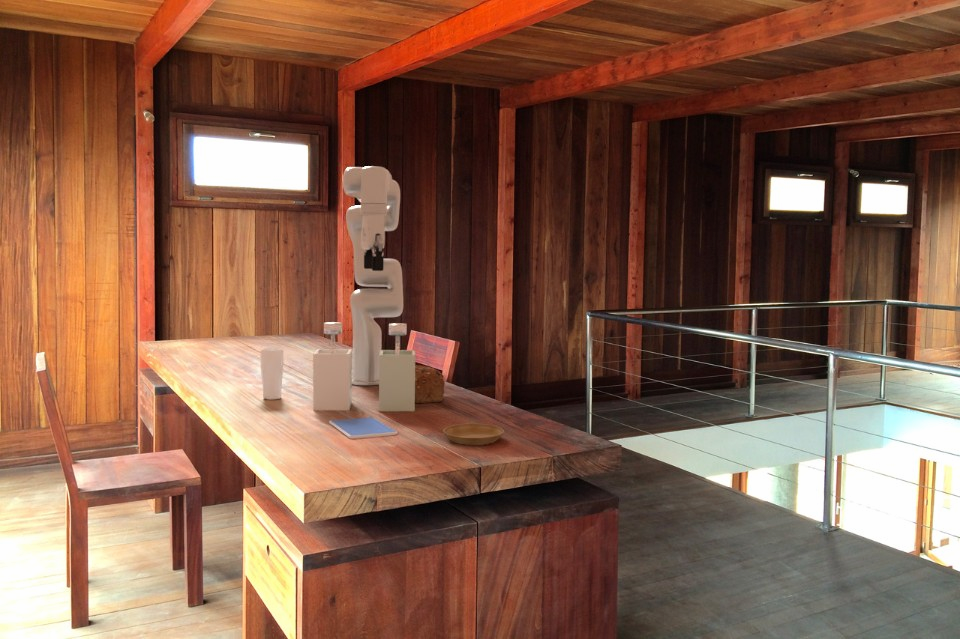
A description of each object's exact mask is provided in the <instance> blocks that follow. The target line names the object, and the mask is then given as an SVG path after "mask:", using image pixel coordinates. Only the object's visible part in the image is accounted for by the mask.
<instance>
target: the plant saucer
mask: <svg viewBox="0 0 960 639" xmlns="http://www.w3.org/2000/svg"><path fill="white" fill-rule="evenodd" d="M504 432H505V430H504V429H503V428H502V427H499V426H498V425H491V424H487V423H460V424H454V425H449V426H447V427H445V428H443V433H444V434H445V436H446V437H447V438H448V439H449V440H451V441H452V442H453V443H455V444H458V445H463V444H465V445H464V446H484V444H486V445H491V444H493V443H495V442H496V441H498V440H499V439H500V438H501V436H502V435H503V434H504ZM490 443H491V444H490Z"/></svg>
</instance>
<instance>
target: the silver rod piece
mask: <svg viewBox="0 0 960 639" xmlns="http://www.w3.org/2000/svg"><path fill="white" fill-rule="evenodd" d="M407 326H408V325H407V323H402V322H401V323H399V322H394V323H393V322H391V323H389V324H388V335H389V336H394V337H395V346H394V347H395V349H394V350H395V355H400V348H401V343H400V342H401V336H402V337H403V336H406V335H407V331H408V330H407V328H408V327H407Z"/></svg>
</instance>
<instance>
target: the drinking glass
mask: <svg viewBox="0 0 960 639" xmlns="http://www.w3.org/2000/svg"><path fill="white" fill-rule="evenodd" d="M259 355H260V357H259V359H260V360H259V361H260V371H261V381H262V382H261V384H262V397H263V399H264V400H267V401H269V400H271V401H272V400H273V401H274V400H279V399H281V398H282V387H283V376H284V374H283V373H284V365H285V364H284V363H285V362H284V360H285V359H284V358H285V357H284V355H285V354H284V348H282V347H263V348H261V349H260V354H259Z"/></svg>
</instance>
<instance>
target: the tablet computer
mask: <svg viewBox="0 0 960 639" xmlns="http://www.w3.org/2000/svg"><path fill="white" fill-rule="evenodd" d="M328 424H329V425H331V426H333V427H334V428H335V429H337V430H338V431H339V432H341V434H343V435H345V436H346V437H347V438H349V439H350V440H356V439H367V438H370V439H371V438H379V437H388V436H395V435H398V431H396V430H395V429H393V428H391V427H390V426H388V425H387V424H384V423H383V422H381V421H380V420H378V419H376V418H375V417H373V416H371V417H370V416H369V417H358V418H357V417H356V418H345V419H332V420H329V421H328Z"/></svg>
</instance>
